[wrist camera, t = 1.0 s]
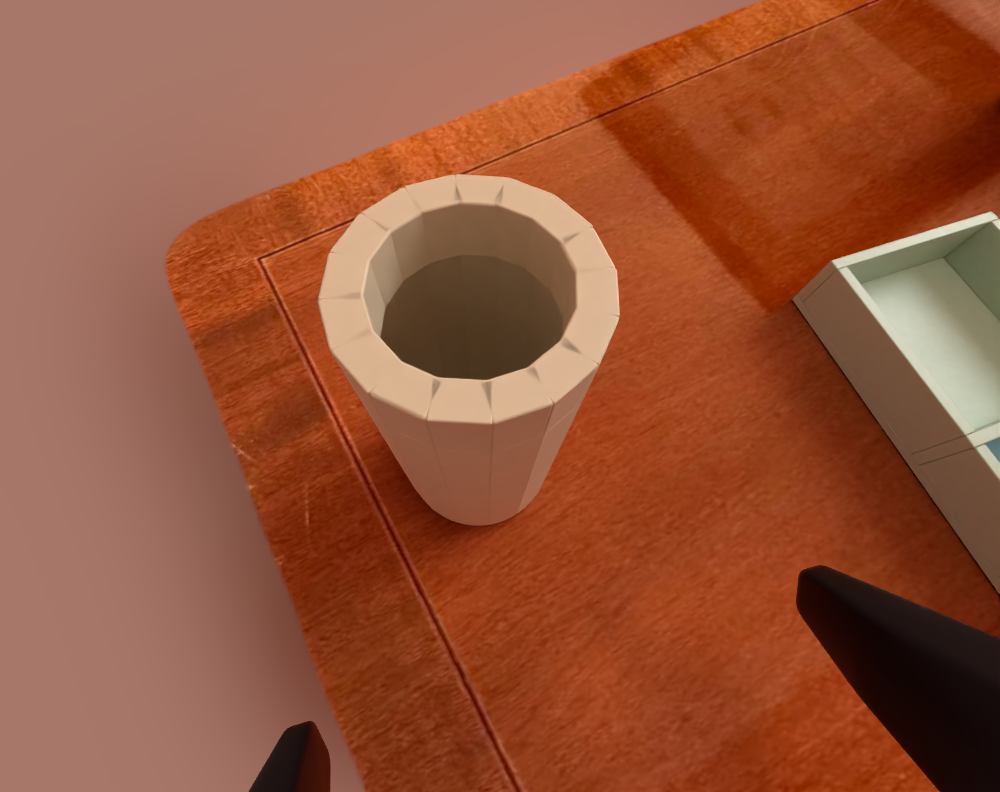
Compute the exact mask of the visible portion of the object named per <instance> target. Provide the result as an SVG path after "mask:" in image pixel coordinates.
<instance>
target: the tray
mask: <svg viewBox="0 0 1000 792" xmlns="http://www.w3.org/2000/svg"><path fill="white" fill-rule="evenodd" d="M792 300H793V302H794V303H795V304H796V306H797V307H798V309H799V310H800V312H801V313H802V314H803V316H804V317H805V319H806V320H807V321H808V323H809V324H810V326H811V327H812V329H813V330H814V331H815V333H816V334H817V336H818V337H819V339H820V340H821V341H822V343H823V344H824V346H825V347H826V349H827V350H828V351H829V353H830V354H831V356H832V357H833V358H834V360H835V361H836V363H837V364H838V366H839V367H840V368H841V370H842V371H843V373H844V374H845V376H846V377H847V378H848V380H849V381H850V383H851V384H852V385H853V387H854V388H855V390H856V391H857V393H858V394H859V395H860V397H861V398H862V400H863V401H864V403H865V404H866V405H867V407H868V408H869V410H870V411H871V413H872V414H873V415H874V417H875V418H876V420H877V421H878V422H879V424H880V425H881V427H882V428H883V430H884V431H885V432H886V434H887V435H888V437H889V438H890V440H891V441H892V442H893V444H894V445H895V447H896V448H897V449H898V451H899V452H900V454H901V455H902V457H903V458H904V459H905V461H906V462H907V464H908V465H909V467H910V468H911V469H912V471H913V472H914V474H915V475H916V477H917V478H918V479H919V481H920V482H921V484H922V485H923V486H924V488H925V489H926V491H927V492H928V494H929V495H930V496H931V498H932V499H933V501H934V502H935V504H936V505H937V506H938V508H939V509H940V511H941V512H942V514H943V515H944V516H945V518H946V519H947V521H948V522H949V523H950V525H951V526H952V528H953V529H954V531H955V532H956V533H957V535H958V536H959V538H960V539H961V541H962V542H963V543H964V545H965V546H966V548H967V549H968V550H969V552H970V553H971V555H972V556H973V558H974V559H975V560H976V562H977V563H978V565H979V566H980V568H981V569H982V570H983V572H984V573H985V575H986V576H987V578H988V579H989V580H990V582H991V583H992V585H993V586H994V587H995V589H996V590H997V592H998V593H999V595H1000V219H998V217H997V216H996V215H995V214H994V213H993V212H988V213H984V214H981V215H978V216H975V217H971V218H968V219H965V220H962V221H958V222H955V223H952V224H949V225H945V226H942V227H939V228H936V229H932V230H929V231H926V232H923V233H919V234H916V235H913V236H910V237H906V238H903V239H900V240H897V241H893V242H890V243H887V244H884V245H880V246H877V247H874V248H871V249H867V250H864V251H861V252H858V253H854V254H851V255H848V256H845V257H841V258H838V259H835V260H832V261H830V262H829V263H828V264H827V265H826V266H825V267H824V268H823V269H822V270H821V271H820V272H819V273H818V274H817V275H816V276H815V277H814V278H813V279H812V280H811V281H810V282H809V283H808V284H807V285H806V286H805V287H804V288H803V289H802V290H801V291H800V292H799V293H798V294H797V295H796V296H795V297H794V298H793V299H792Z"/></svg>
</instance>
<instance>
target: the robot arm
mask: <svg viewBox="0 0 1000 792" xmlns="http://www.w3.org/2000/svg"><path fill="white" fill-rule="evenodd" d="M796 605H797V608H798V611H799V613H800V615H801V616H802V618H803V619H804V621H805V622H806V623H807V625H808V626H809V628H810V629H811V630H812V632H813V633H814V635H815V636H816V637H817V639H818V640H819V642H820V643H821V644H822V646H823V647H824V649H825V650H826V651H827V653H828V654H829V656H830V657H831V658H832V660H833V661H834V663H835V664H836V665H837V667H838V668H839V670H840V671H841V672H842V674H843V675H844V677H845V678H846V679H847V681H848V682H849V683H850V685H851V686H852V687H853V689H854V690H855V691H856V693H857V694H858V695H859V697H860V698H861V699H862V700H863V701H864V703H865V704H866V705H867V706H868V708H869V709H870V710H871V711H872V712H873V714H874V715H875V716H876V717H877V718H878V719H879V721H880V722H881V723H882V724H883V725H884V726H885V728H886V729H887V730H888V731H889V732H890V734H891V735H892V736H893V737H894V738H895V739H896V741H897V742H898V743H899V744H900V745H901V747H902V748H903V749H904V750H905V751H906V752H907V754H908V755H909V756H910V757H911V758H912V759H913V761H914V762H915V763H916V764H917V765H918V767H919V768H920V769H921V770H922V771H923V772H924V774H925V775H926V776H927V777H928V778H929V779H930V781H931V782H932V783H933V784H934V785H935V787H936V788H937V789H938V790H939V791H940V792H1000V638H998V637H996V636H993V635H991V634H989V633H986V632H984V631H981V630H979V629H977V628H974V627H972V626H969V625H967V624H964V623H962V622H960V621H957V620H955V619H952V618H950V617H948V616H945V615H943V614H940V613H938V612H935V611H933V610H931V609H928V608H926V607H923V606H921V605H919V604H916V603H914V602H911V601H909V600H907V599H904V598H902V597H899V596H897V595H894V594H892V593H890V592H887V591H885V590H882V589H880V588H878V587H875V586H873V585H870V584H868V583H865V582H863V581H861V580H858V579H856V578H853V577H851V576H849V575H846V574H844V573H841V572H839V571H836V570H834V569H832V568H829V567H826V566H823V565H818V566H814V567H811V568H807V569H804V570H802V571H801V572H800V573H799V577H798V586H797V596H796ZM249 792H330V757H329V752H328V749H327V747H326V745H325V743H324V741H323V739H322V737H321V735H320V733H319V731H318V729H317V726H316V725H315V723H314V722H312V721H308V722H304V723H301V724H298V725H294V726H291V727H289V728H288V729H287V730H286V731H285V732H284V733H283V735H282V736H281V738H280V739H279V741H278V743H277V744H276V746H275V748H274V750H273V751H272V753H271V755H270V757H269V758H268V760H267V761H266V763H265V765H264V766H263V768H262V770H261V772H260V773H259V775H258V777H257V778H256V780H255V782H254V783H253V785H252V787H251V788H250V790H249Z"/></svg>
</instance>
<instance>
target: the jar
mask: <svg viewBox="0 0 1000 792" xmlns="http://www.w3.org/2000/svg"><path fill="white" fill-rule="evenodd" d="M592 227H593V226H592V225H591V224H590V223H589V222H588V221H587V220H585V219H584V218H583V217H582V216H580V215H579V214H578V213H577V212H575V211H574V210H573V209H572V208H571V207H569V206H568V205H567V204H566V203H564V202H563V201H562V200H561V199H559V198H558V197H557V196H554V194H552V193H549V192H546V191H544V190H541V189H538V188H536V187H533V186H530V185H527V184H525V183H522V182H519V181H517V180H514V179H511V178H509V177H507V178H505V177H494V176H477V175H460V174H457V175H455V176H454V175H449V176H444V177H440V178H436V179H432V180H428V181H423V182H419V183H415V184H411V185H407V186H405V187H404V188H400V189H399V190H397V191H396V192H394V193H392V194H391V195H389V196H387V197H386V198H384V199H382V200H381V201H379V202H377V203H376V204H374V205H373V206H371V207H369V208H368V209H366V210H364V211H363V212H362V213H361V214H358V216H357V217H356V218H355V219H354V221H353V222H352V223H351V225H350V226H349V227H348V228H347V230H346V231H345V232H344V234H343V235H342V236H341V237H340V239H339V240H338V241H337V243H336V244H335V245H334V246H333V248H332V249H331V250H330V253H329V255H328V259H327V263H326V267H325V272H324V276H323V280H322V284H321V289H320V293H319V297H318V306H319V310H320V314H321V318H322V322H323V326H324V330H325V334H326V338H327V341H328V345H329V349H330V351H331V353H332V355H333V356H334V358H335V360H336V361H337V363H338V365H339V366H340V368H341V369H342V371H343V373H344V374H345V376H346V378H347V379H348V381H349V382H350V384H351V386H352V387H353V389H354V390H355V392H356V394H357V396H358V397H359V399H360V400H361V402H362V404H363V405H364V407H365V409H366V410H367V412H368V413H369V415H370V417H371V418H372V420H373V422H374V423H375V425H376V426H377V428H378V430H379V431H380V433H381V435H382V436H383V438H384V439H385V441H386V443H387V444H388V446H389V448H390V449H391V451H392V452H393V454H394V456H395V457H396V459H397V461H398V462H399V464H400V466H401V467H402V469H403V470H404V472H405V474H406V475H407V477H408V479H409V480H410V482H411V483H412V485H413V487H414V488H415V490H416V491H417V492H418V493H419V494H420V496H421V497H422V498H423V500H424V501H425V502H426V503H427V504H428V505H429V506H430V507H431V509H433V510H434V511H436V512H437V513H438V514H440V515H441V516H443V517H445V518H447V519H449V520H451V521H454V522H457V523H461V524H465V525H473V526H484V525H490V524H495V523H499V522H502V521H504V520H507V519H509V518H511V517H513V516H514V515H516V514H518V513H519V512H520V511H522V510H523V509H524V508H525V507H526V506H527V505H528V504H529V503H530V502H531V501H532V500H533V499H534V498H535V497H536V496H537V494H538V493H539V491H540V488H541V486H542V484H543V482H544V480H545V478H546V476H547V474H548V472H549V470H550V467H551V465H552V463H553V461H554V459H555V457H556V455H557V453H558V451H559V449H560V447H561V444H562V442H563V440H564V438H565V436H566V434H567V432H568V430H569V428H570V426H571V423H572V421H573V419H574V417H575V415H576V413H577V411H578V409H579V407H580V405H581V403H582V400H583V398H584V396H585V394H586V392H587V390H588V388H589V386H590V384H591V382H592V379H593V377H594V375H595V373H596V371H597V369H598V367H599V365H600V363H601V360H602V358H603V356H604V353H605V351H606V349H607V347H608V344H609V342H610V340H611V337H612V335H613V333H614V330H615V328H616V326H617V324H618V321H619V317H620V312H619V296H618V279H617V270H616V269H615V266H614V264H613V262H612V261H611V259H610V257H609V255H608V253H607V251H606V250H605V248H604V246H603V244H602V242H601V241H600V239H599V237H598V235H597V233H596V232H595V230H594V229H593V228H592Z"/></svg>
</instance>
